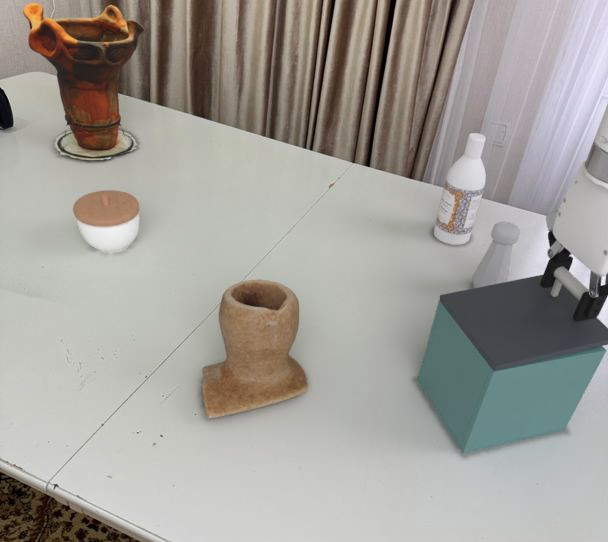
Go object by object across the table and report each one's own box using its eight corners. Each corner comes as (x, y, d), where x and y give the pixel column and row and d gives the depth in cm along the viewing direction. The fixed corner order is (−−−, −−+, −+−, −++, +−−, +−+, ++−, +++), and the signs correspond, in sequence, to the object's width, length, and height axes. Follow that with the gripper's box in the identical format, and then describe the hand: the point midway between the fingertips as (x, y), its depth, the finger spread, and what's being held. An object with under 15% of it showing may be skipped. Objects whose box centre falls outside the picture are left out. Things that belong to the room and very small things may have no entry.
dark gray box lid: (549, 277, 83) (560, 246, 80) (616, 343, 74) (631, 310, 70) (438, 299, 79) (445, 268, 76) (494, 371, 70) (504, 339, 66)
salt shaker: (463, 292, 106) (483, 226, 98) (476, 278, 110) (496, 212, 101) (495, 306, 104) (518, 239, 95) (508, 290, 108) (531, 225, 99)
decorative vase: (170, 146, 141) (159, 10, 123) (79, 175, 128) (52, 27, 109) (117, 117, 151) (100, -13, 132) (28, 141, 138) (-5, 0, 119)
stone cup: (284, 346, 93) (290, 263, 83) (316, 401, 85) (326, 316, 75) (185, 368, 88) (178, 282, 78) (208, 429, 80) (203, 341, 70)
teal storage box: (510, 364, 93) (541, 284, 84) (564, 431, 84) (607, 350, 74) (416, 382, 89) (438, 300, 79) (462, 454, 80) (493, 372, 70)
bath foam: (426, 230, 121) (449, 130, 108) (455, 225, 123) (482, 126, 110) (445, 249, 116) (472, 146, 103) (476, 243, 119) (506, 142, 105)
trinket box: (83, 264, 105) (73, 215, 99) (78, 232, 112) (69, 184, 106) (147, 256, 108) (141, 208, 102) (139, 225, 115) (133, 178, 109)
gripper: (717, 200, 59) (639, 341, 72) (601, 128, 71) (552, 259, 84) (654, 209, 58) (585, 352, 70) (546, 133, 70) (503, 266, 82)
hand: (567, 300), depth 76 cm, fingers closed on dark gray box lid, 6 cm apart
